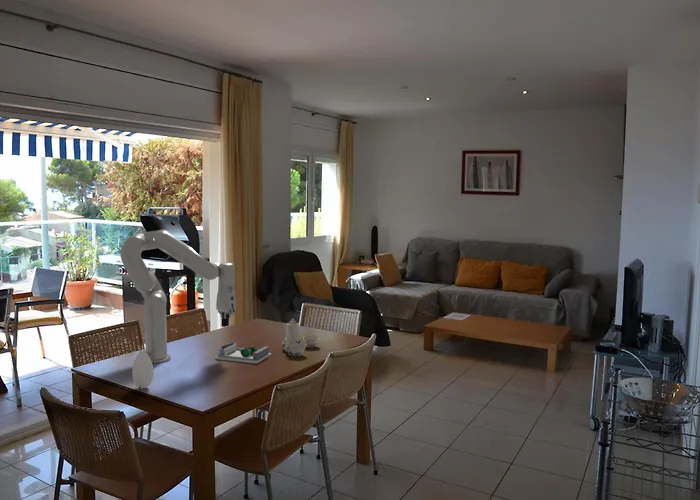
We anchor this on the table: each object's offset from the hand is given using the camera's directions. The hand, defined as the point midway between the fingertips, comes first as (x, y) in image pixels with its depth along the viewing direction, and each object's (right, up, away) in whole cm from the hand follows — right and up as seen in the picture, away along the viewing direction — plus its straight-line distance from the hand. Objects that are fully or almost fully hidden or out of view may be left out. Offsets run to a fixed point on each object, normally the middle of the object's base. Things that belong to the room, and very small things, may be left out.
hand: (225, 326), depth 271 cm
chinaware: (+34, -14, +12) cm, 39 cm away
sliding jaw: (+1, -13, +1) cm, 13 cm away
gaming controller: (+13, -14, -3) cm, 19 cm away
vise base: (+9, -15, -1) cm, 17 cm away
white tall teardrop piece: (-22, -19, -47) cm, 55 cm away
